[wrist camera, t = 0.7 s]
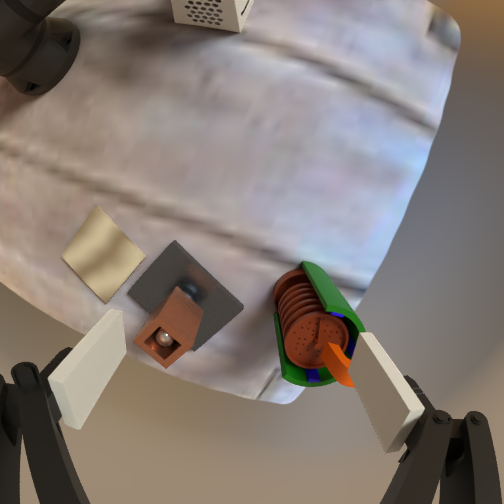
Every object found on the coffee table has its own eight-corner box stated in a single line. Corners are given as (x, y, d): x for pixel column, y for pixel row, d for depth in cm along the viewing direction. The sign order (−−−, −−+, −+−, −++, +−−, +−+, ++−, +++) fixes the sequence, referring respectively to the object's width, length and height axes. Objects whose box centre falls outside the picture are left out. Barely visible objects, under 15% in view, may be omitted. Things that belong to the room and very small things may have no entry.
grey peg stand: (131, 288, 43) (96, 324, 31) (174, 239, 41) (146, 264, 29) (195, 346, 46) (181, 396, 33) (243, 305, 44) (242, 350, 32)
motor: (280, 256, 42) (307, 321, 23) (338, 267, 43) (399, 331, 23) (266, 319, 44) (278, 411, 25) (321, 327, 45) (360, 413, 26)
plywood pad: (64, 254, 42) (61, 256, 41) (98, 205, 40) (95, 206, 39) (108, 301, 44) (105, 303, 43) (146, 256, 42) (144, 257, 41)
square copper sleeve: (154, 308, 39) (133, 341, 30) (176, 285, 38) (158, 315, 29) (181, 332, 40) (166, 368, 31) (204, 310, 39) (193, 345, 30)
